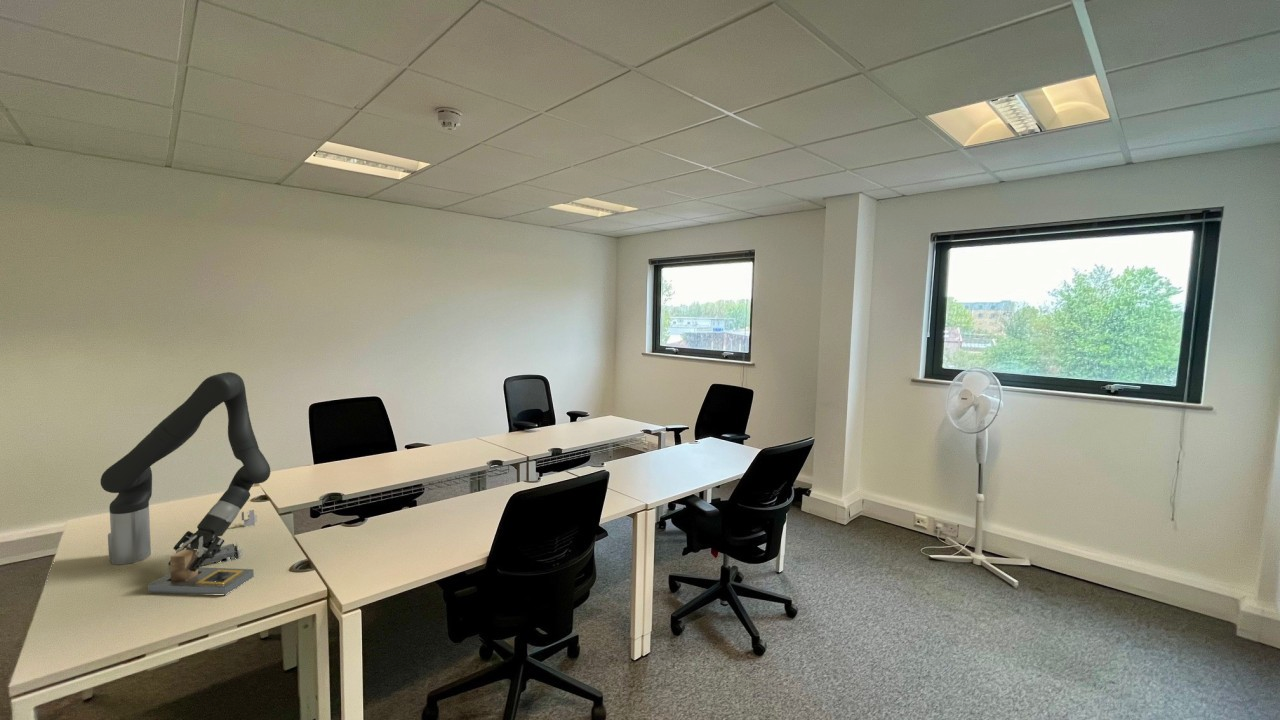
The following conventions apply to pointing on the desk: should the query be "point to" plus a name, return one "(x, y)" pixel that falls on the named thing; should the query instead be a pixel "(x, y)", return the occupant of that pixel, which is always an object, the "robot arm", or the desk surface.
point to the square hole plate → (203, 582)
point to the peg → (182, 565)
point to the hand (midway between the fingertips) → (181, 568)
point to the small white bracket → (250, 518)
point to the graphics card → (225, 554)
